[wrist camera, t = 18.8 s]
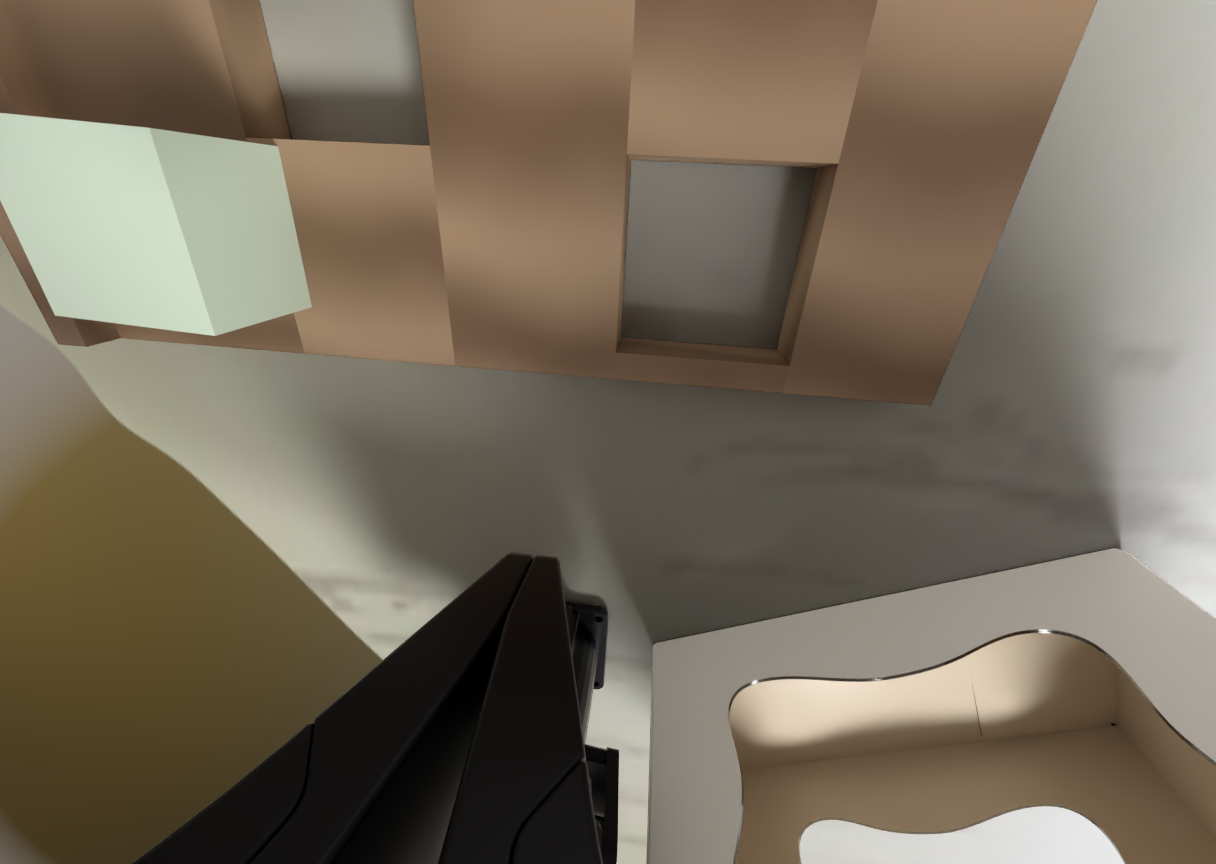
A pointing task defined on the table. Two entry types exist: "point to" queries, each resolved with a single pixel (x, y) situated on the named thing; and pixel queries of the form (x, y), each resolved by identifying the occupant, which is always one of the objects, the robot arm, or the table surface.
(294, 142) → the board
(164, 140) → the block
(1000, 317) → the table surface
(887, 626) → the gable box
